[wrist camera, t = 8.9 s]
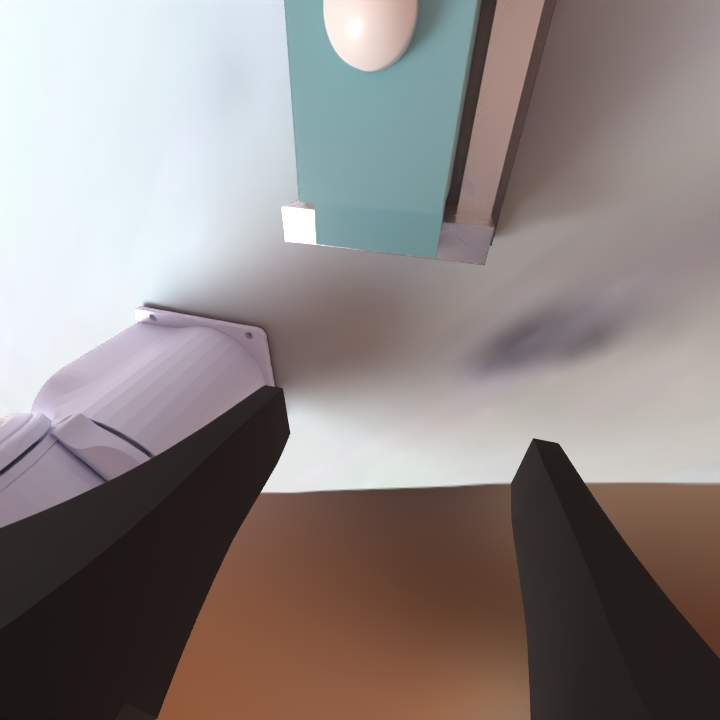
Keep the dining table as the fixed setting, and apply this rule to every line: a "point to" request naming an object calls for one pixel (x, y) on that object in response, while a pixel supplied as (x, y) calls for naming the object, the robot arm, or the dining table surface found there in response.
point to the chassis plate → (477, 131)
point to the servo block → (379, 115)
